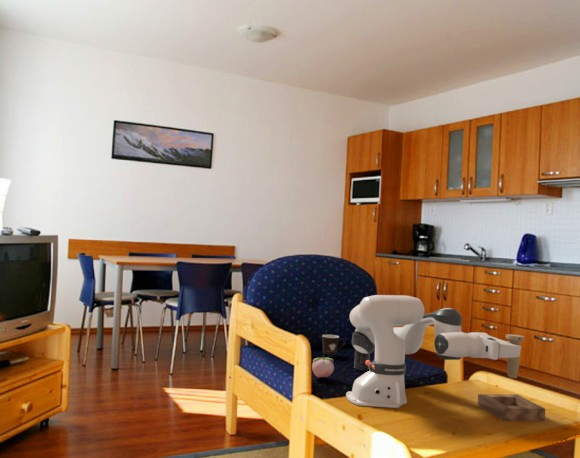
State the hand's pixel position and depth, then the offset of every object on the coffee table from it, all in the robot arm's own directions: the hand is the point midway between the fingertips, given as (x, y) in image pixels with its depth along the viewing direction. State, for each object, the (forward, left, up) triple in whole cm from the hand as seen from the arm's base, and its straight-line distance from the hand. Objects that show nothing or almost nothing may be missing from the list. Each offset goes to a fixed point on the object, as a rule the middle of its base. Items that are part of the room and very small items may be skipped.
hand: (516, 345), depth 184 cm
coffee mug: (-47, +81, -24) cm, 97 cm away
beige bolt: (-1, 0, -11) cm, 12 cm away
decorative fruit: (-62, +40, -24) cm, 77 cm away
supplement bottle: (-40, +55, -24) cm, 72 cm away
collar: (-2, -1, -24) cm, 24 cm away
